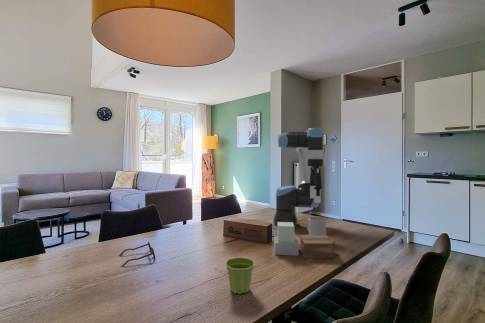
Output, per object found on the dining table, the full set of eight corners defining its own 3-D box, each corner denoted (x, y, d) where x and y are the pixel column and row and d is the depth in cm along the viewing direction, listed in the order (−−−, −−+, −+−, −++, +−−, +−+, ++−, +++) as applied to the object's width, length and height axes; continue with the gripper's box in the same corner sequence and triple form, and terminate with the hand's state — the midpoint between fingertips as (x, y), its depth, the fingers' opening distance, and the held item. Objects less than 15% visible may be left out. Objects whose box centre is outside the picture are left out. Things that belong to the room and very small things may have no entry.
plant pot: (232, 280, 90) (232, 255, 90) (258, 285, 86) (258, 259, 86) (220, 293, 81) (220, 266, 81) (248, 300, 77) (248, 271, 77)
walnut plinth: (300, 247, 121) (300, 234, 121) (326, 248, 120) (326, 235, 120) (303, 257, 109) (303, 243, 109) (333, 258, 108) (333, 244, 108)
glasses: (156, 261, 107) (155, 249, 107) (121, 268, 101) (120, 255, 100) (150, 250, 118) (150, 240, 118) (118, 256, 112) (118, 245, 112)
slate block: (274, 246, 122) (274, 235, 122) (295, 247, 121) (295, 236, 121) (274, 254, 112) (274, 243, 112) (298, 255, 111) (298, 243, 111)
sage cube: (277, 237, 121) (277, 222, 120) (292, 237, 120) (292, 222, 120) (278, 242, 114) (278, 226, 113) (294, 242, 113) (294, 226, 113)
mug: (329, 241, 130) (330, 219, 129) (316, 243, 126) (316, 221, 126) (313, 234, 140) (313, 214, 140) (300, 236, 137) (300, 215, 136)
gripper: (304, 158, 145) (304, 196, 145) (311, 158, 120) (311, 204, 120) (318, 158, 144) (317, 196, 145) (328, 158, 119) (328, 205, 120)
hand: (315, 200), depth 133 cm, fingers open, 13 cm apart
